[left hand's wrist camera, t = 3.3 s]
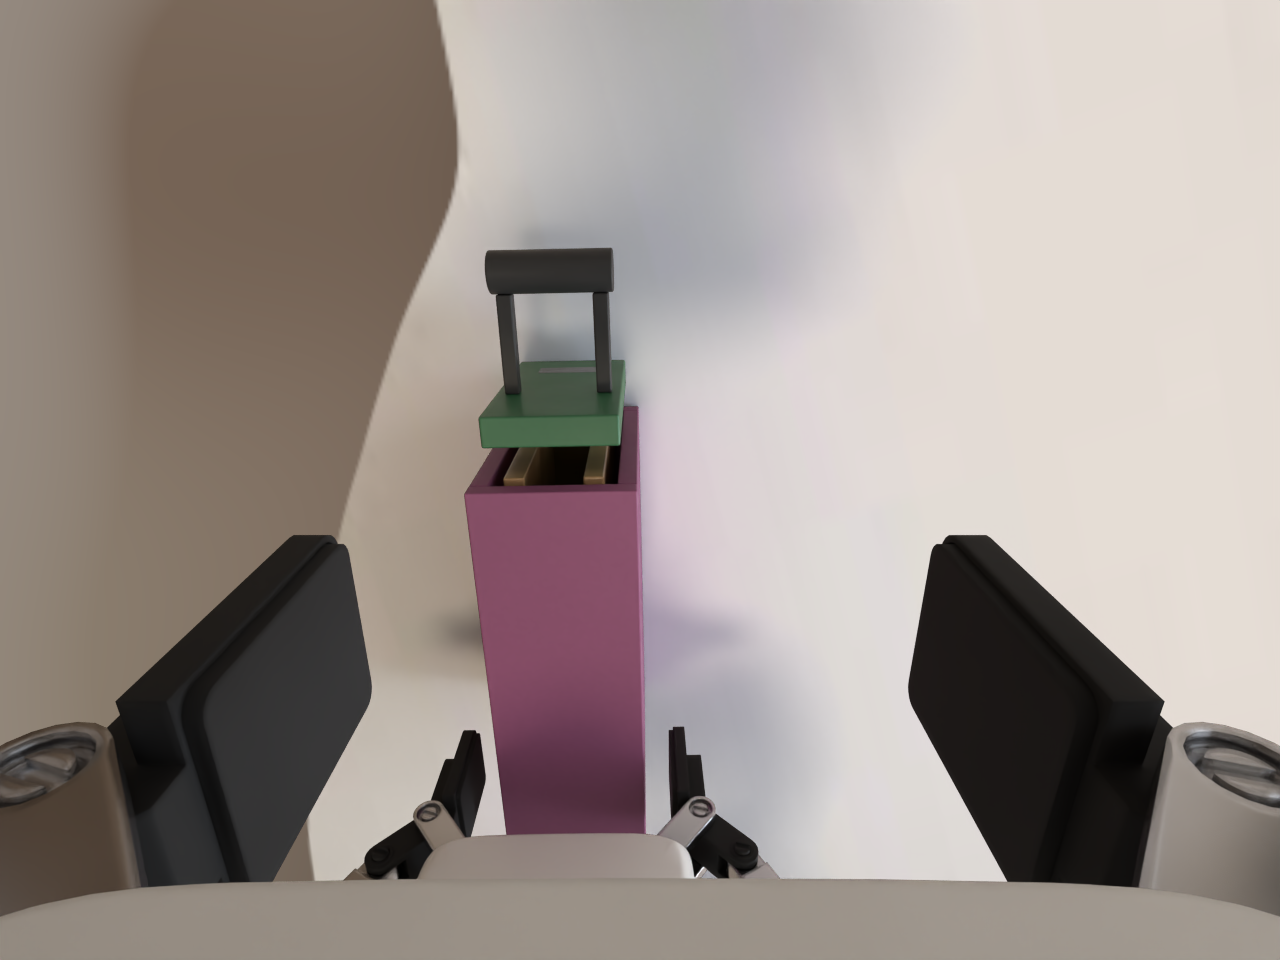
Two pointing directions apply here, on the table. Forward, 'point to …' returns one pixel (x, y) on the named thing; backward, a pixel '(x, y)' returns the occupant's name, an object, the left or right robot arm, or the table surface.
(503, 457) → the tall purple box
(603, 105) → the table surface
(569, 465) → the drawer
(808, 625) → the table surface
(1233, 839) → the left robot arm
